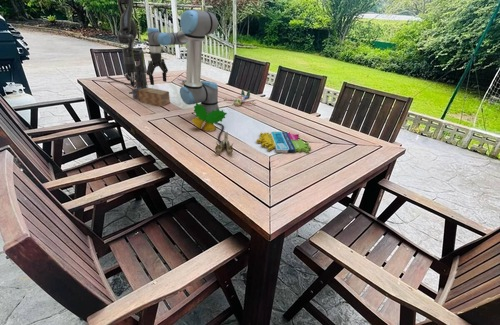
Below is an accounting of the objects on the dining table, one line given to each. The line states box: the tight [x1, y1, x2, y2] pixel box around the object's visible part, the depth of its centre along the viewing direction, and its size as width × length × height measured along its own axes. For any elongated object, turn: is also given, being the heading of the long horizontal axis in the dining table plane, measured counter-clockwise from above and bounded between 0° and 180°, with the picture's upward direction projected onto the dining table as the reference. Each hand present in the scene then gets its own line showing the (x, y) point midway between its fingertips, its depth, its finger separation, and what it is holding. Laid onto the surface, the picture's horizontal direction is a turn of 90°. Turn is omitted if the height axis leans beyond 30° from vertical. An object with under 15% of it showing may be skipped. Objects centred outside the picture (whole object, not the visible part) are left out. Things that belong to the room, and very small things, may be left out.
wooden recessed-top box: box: [139, 87, 171, 107], centre depth 202 cm, size 20×10×9 cm, turn 66°
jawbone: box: [214, 131, 234, 156], centre depth 136 cm, size 9×15×10 cm
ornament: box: [191, 102, 228, 132], centre depth 162 cm, size 21×8×15 cm, turn 105°
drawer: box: [128, 87, 142, 100], centre depth 205 cm, size 25×9×7 cm, turn 66°
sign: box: [256, 131, 312, 154], centre depth 152 cm, size 26×2×30 cm
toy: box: [223, 89, 257, 106], centre depth 219 cm, size 28×7×30 cm
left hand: (133, 85), depth 206 cm, fingers closed
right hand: (158, 83), depth 195 cm, fingers open, 13 cm apart
